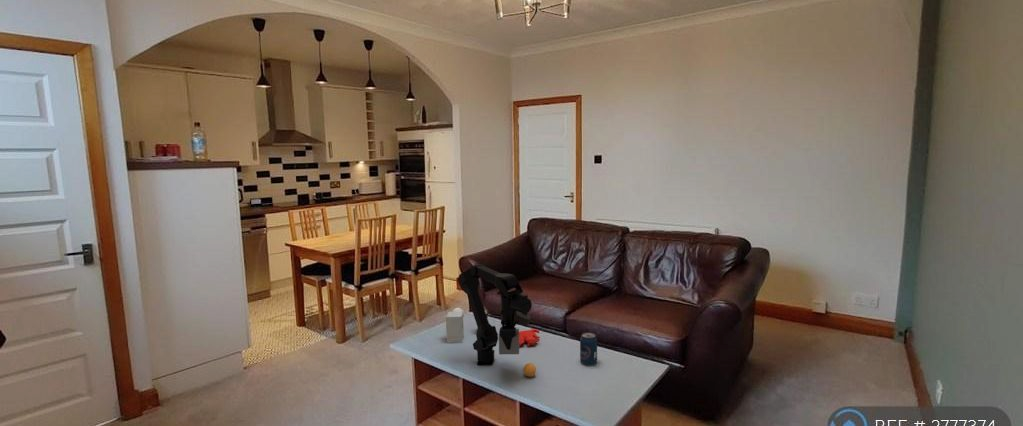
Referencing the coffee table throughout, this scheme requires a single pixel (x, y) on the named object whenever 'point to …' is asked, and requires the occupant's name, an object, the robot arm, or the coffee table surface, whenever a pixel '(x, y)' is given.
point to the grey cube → (514, 345)
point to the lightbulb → (458, 310)
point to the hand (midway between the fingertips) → (509, 345)
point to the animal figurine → (528, 337)
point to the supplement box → (454, 327)
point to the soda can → (588, 349)
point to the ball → (529, 369)
